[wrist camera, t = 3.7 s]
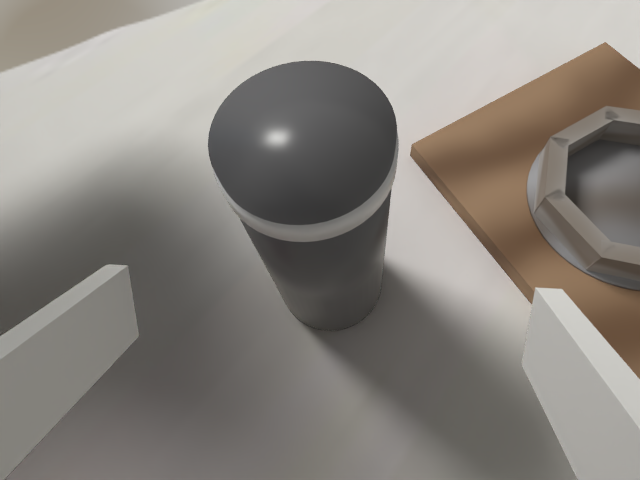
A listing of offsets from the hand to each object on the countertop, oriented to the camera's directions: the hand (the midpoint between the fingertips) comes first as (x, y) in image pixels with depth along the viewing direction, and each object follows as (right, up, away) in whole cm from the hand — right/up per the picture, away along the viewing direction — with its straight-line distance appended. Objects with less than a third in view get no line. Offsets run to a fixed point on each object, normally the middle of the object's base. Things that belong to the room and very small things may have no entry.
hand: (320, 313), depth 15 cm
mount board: (+18, +4, +12) cm, 22 cm away
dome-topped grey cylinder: (+1, 0, +12) cm, 12 cm away
